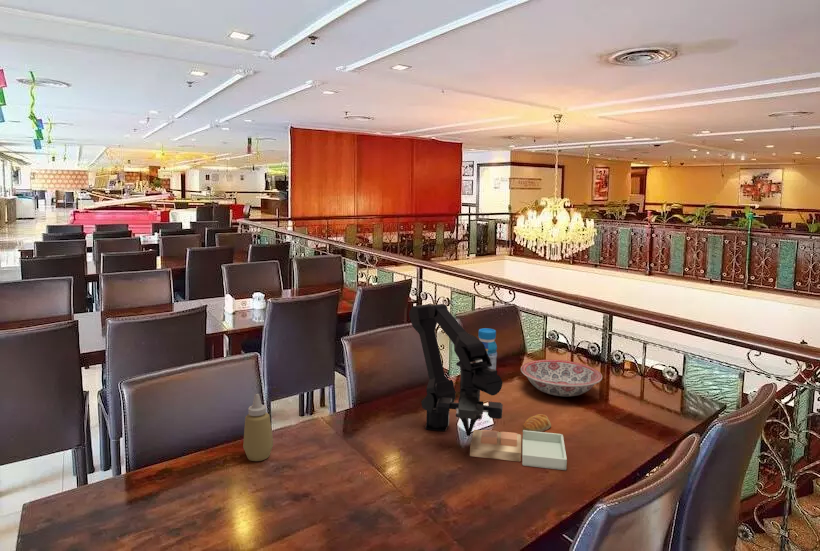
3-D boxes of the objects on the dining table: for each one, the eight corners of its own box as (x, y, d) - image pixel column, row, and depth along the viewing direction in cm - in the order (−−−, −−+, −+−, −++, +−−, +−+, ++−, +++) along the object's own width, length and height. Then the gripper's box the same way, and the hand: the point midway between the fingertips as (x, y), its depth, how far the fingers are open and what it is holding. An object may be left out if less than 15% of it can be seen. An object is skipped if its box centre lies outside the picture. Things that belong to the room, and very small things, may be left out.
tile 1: (481, 442, 157) (481, 436, 157) (482, 435, 161) (482, 429, 161) (496, 444, 156) (497, 437, 156) (497, 437, 160) (497, 431, 160)
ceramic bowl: (609, 388, 209) (610, 368, 208) (588, 413, 185) (590, 391, 184) (535, 373, 225) (536, 355, 223) (507, 395, 200) (508, 374, 199)
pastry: (534, 436, 168) (535, 424, 167) (516, 429, 173) (517, 418, 172) (552, 428, 174) (553, 417, 173) (534, 421, 179) (535, 410, 178)
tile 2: (500, 444, 156) (500, 438, 155) (501, 437, 160) (501, 431, 160) (516, 446, 155) (516, 439, 155) (516, 439, 159) (517, 433, 159)
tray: (522, 465, 149) (522, 455, 149) (522, 439, 165) (523, 430, 164) (566, 470, 147) (566, 459, 147) (562, 443, 163) (562, 434, 162)
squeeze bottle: (279, 452, 154) (278, 391, 151) (262, 466, 147) (260, 402, 144) (254, 447, 157) (253, 387, 154) (237, 460, 149) (235, 397, 146)
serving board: (469, 456, 154) (470, 447, 154) (473, 437, 166) (473, 429, 165) (520, 461, 151) (521, 453, 151) (520, 442, 163) (521, 434, 163)
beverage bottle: (497, 383, 213) (499, 333, 210) (475, 382, 213) (477, 332, 210) (494, 375, 221) (496, 327, 218) (473, 375, 221) (475, 327, 218)
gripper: (433, 391, 151) (432, 444, 154) (502, 397, 148) (499, 451, 150) (439, 377, 162) (438, 427, 164) (503, 383, 158) (501, 434, 161)
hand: (468, 435), depth 160 cm, fingers closed
